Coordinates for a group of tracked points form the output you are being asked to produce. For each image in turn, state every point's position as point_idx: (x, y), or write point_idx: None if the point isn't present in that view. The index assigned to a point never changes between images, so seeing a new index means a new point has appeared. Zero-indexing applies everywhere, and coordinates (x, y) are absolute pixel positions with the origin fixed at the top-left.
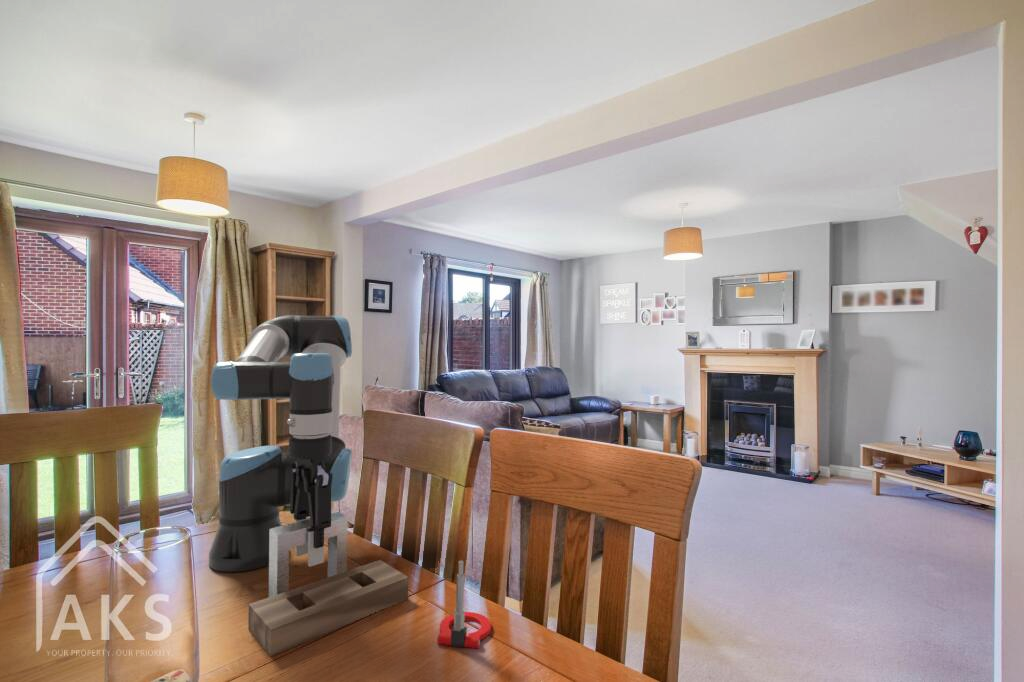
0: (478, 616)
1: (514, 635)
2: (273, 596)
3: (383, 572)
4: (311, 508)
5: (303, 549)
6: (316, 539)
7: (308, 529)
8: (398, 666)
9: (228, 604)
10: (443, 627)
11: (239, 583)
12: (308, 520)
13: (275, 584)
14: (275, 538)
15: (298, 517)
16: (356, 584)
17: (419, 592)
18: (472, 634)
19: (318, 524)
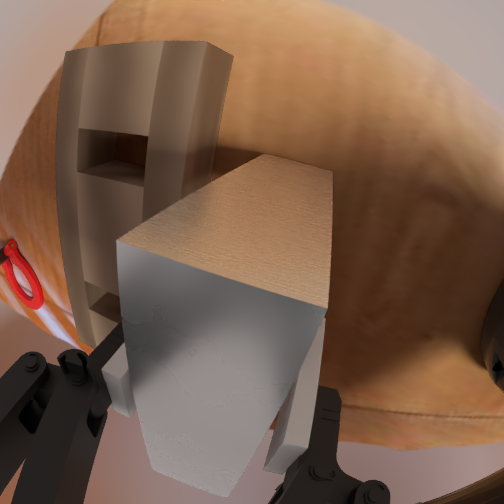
0: (28, 303)
1: (8, 289)
2: (187, 115)
3: None
4: (28, 456)
5: None
6: (102, 343)
7: (71, 359)
8: (7, 183)
9: (416, 101)
10: (21, 265)
11: (492, 203)
12: (230, 455)
13: (261, 167)
14: (180, 235)
15: (298, 469)
16: (100, 285)
17: None
18: (6, 268)
19: (12, 366)
